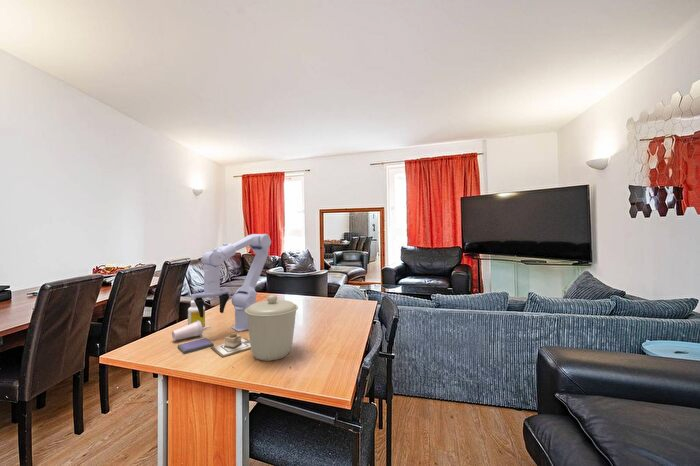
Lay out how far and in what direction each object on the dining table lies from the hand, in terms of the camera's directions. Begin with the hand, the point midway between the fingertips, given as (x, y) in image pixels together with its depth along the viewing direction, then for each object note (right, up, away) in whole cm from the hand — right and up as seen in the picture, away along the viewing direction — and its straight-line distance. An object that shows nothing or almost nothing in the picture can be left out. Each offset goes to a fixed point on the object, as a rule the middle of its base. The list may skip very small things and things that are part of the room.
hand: (211, 314), depth 111 cm
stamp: (+12, -9, -8) cm, 17 cm away
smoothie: (-13, -7, -4) cm, 16 cm away
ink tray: (-2, -10, -8) cm, 13 cm away
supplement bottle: (-12, -10, +11) cm, 19 cm away
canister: (+28, -10, -14) cm, 33 cm away
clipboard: (+13, -10, -8) cm, 18 cm away
